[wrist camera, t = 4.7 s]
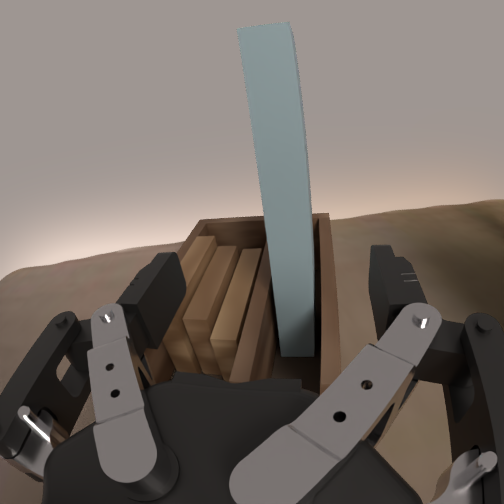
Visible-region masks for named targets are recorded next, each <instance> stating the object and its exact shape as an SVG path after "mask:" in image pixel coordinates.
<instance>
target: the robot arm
mask: <svg viewBox="0 0 504 504" xmlns="http://www.w3.org/2000/svg"><path fill="white" fill-rule="evenodd" d="M185 295H186V281H185V277H184V274H183V271H182V268H181V264H180V261H179V258H178V255H177V254H176V253H175V252H166V253H158V254H157V255H156V256H155V258H154V259H153V260H152V262H151V263H150V264H148V265H147V266H145V267H144V268H143V269H141V270H140V271H139V272H138V274H137V275H136V276H135V278H134V280H132V282H131V283H130V286H128V287H127V288H126V290H125V291H124V292H123V294H122V295H121V296H120V298H119V299H118V301H117V302H116V303H112V304H107V305H104V306H102V307H100V308H99V309H97V310H96V311H95V312H94V313H93V315H92V317H91V319H87V320H82V321H78V319H77V317H76V315H75V314H74V313H73V312H71V311H67V312H63V313H60V314H58V315H57V316H55V317H54V318H53V319H52V320H51V321H50V323H49V324H48V325H47V327H46V328H45V330H44V331H43V332H42V334H41V335H40V336H39V338H38V339H37V341H36V342H35V343H34V345H33V346H32V348H31V349H30V351H29V352H28V353H27V355H26V356H25V358H24V359H23V361H22V362H21V364H20V365H19V367H18V368H17V370H16V371H15V373H14V374H13V376H12V377H11V379H10V381H9V382H8V384H7V385H6V387H5V388H4V390H3V392H2V393H1V395H0V456H1V457H2V458H3V459H4V460H6V461H7V462H8V463H10V464H11V465H12V466H14V467H15V468H17V469H18V470H19V471H21V472H23V473H25V474H26V475H28V476H29V477H31V478H32V479H34V480H36V481H38V482H44V486H43V498H42V503H41V504H423V502H422V500H421V498H420V497H419V495H418V494H417V493H416V492H415V490H414V489H413V488H412V487H411V486H410V485H409V484H408V483H407V482H406V481H405V480H404V479H403V478H402V477H401V476H400V475H399V474H398V473H397V472H396V471H395V470H394V469H393V468H392V467H391V465H390V464H389V463H388V462H387V461H386V460H385V459H384V458H383V457H382V456H381V455H380V454H379V453H378V452H377V451H376V449H375V448H376V447H377V445H378V444H379V443H380V441H381V440H382V439H383V437H384V436H385V434H386V433H387V431H388V430H389V428H390V427H391V425H392V423H393V421H394V420H395V418H396V417H397V415H398V414H399V412H400V411H401V409H402V408H403V406H404V405H405V403H406V402H407V400H408V399H409V397H410V396H411V394H412V392H413V391H414V389H415V388H416V386H417V384H418V383H419V381H420V380H422V381H427V382H433V383H439V384H442V386H443V392H444V398H445V404H446V410H447V417H448V425H449V433H450V442H451V453H452V464H451V465H450V466H449V467H448V468H447V469H446V470H445V471H444V472H443V473H442V474H441V476H440V477H439V479H438V481H437V485H436V492H435V495H434V497H433V499H432V500H431V502H430V503H428V504H504V333H503V330H502V328H501V326H500V324H499V322H498V321H497V320H496V319H495V318H493V317H492V316H490V315H488V314H485V313H474V314H471V315H470V316H468V318H467V319H466V321H465V324H462V323H456V322H450V321H446V320H443V319H442V318H441V315H440V313H439V311H438V310H437V309H436V308H434V307H433V306H431V305H428V303H427V301H426V298H425V296H424V293H423V291H422V288H421V286H420V283H419V281H418V279H417V276H416V274H415V271H414V269H413V267H412V265H411V263H410V262H408V261H407V260H406V259H405V258H404V257H395V255H394V253H393V250H392V248H391V246H390V245H372V246H371V253H370V268H369V295H370V300H371V305H372V310H373V316H374V321H375V327H376V333H377V339H378V342H377V344H376V345H375V346H374V345H372V344H367V345H366V346H365V347H364V348H363V349H362V350H361V352H360V353H359V354H358V355H357V356H356V357H355V358H354V360H353V361H352V362H351V363H350V364H349V365H348V366H347V367H346V369H345V370H344V371H343V372H342V373H341V374H340V375H339V376H338V377H337V378H336V380H335V381H334V382H333V383H332V384H331V385H330V386H329V387H328V388H327V389H326V390H325V391H324V392H323V393H322V394H321V395H319V394H317V393H315V392H312V391H309V390H306V389H302V379H273V378H268V379H261V380H255V381H249V382H242V383H230V382H227V381H223V380H220V379H217V378H214V377H211V376H208V375H205V374H198V373H188V372H179V371H176V372H175V375H174V377H173V379H172V380H169V381H164V382H160V383H157V384H156V382H155V379H154V377H153V374H152V371H151V368H150V365H149V362H148V359H147V356H146V354H145V350H146V348H150V349H158V348H159V346H160V344H161V342H162V340H163V338H164V336H165V334H166V332H167V330H168V328H169V326H170V324H171V322H172V320H173V318H174V316H175V314H176V312H177V310H178V308H179V307H180V305H181V303H182V301H183V299H184V297H185ZM64 355H66V357H67V358H68V360H69V361H70V363H71V365H70V367H69V368H68V370H67V372H66V373H65V375H64V377H63V379H62V380H61V382H60V381H59V379H58V378H57V375H56V369H57V367H58V365H59V363H60V362H61V360H62V358H63V357H64ZM91 391H92V398H93V405H94V411H95V417H96V421H95V422H93V423H92V424H90V425H89V426H87V427H85V428H84V429H82V430H81V431H79V432H77V433H76V434H74V435H73V436H71V437H69V436H70V434H71V432H72V430H73V427H74V425H75V423H76V421H77V419H78V417H79V415H80V413H81V410H82V408H83V406H84V404H85V402H86V400H87V398H88V396H89V394H90V392H91Z"/></svg>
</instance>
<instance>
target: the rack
mask: <svg viewBox="0 0 504 504" xmlns="http://www.w3.org/2000/svg"><path fill="white" fill-rule="evenodd" d="M312 224H313V244H314V269H321V369H320V395H321V394H322V393H323V392H324V391H325V390H326V389H327V388H328V387H329V386H330V385H331V384H332V383H333V382H334V381H335V380H336V378H337V377H338V376H339V375H340V374H341V358H340V335H339V317H338V302H337V288H336V276H335V265H334V254H333V245H332V235H331V227H330V218H329V213H317V214H312ZM198 236H215V239H216V243H217V248H218V246H237V250H238V255H239V258H240V256H241V253H242V250H243V249H257V248H262V255H263V256H262V260H261V263H260V267H259V271H258V275H257V279H256V282H255V286H254V290H253V294H252V298H251V301H250V305H249V309H248V313H247V316H246V320H245V324H244V328H243V331H242V335H241V339H240V343H239V346H238V350H237V354H236V357H235V361H234V365H233V368H232V372H231V376H230V379H229V382H230V383H242V382H249V381H255V380H261V379H268V378H271V377H272V371H273V364H274V358H275V352H276V345H277V339H278V324H277V315H276V307H275V299H274V291H273V283H272V275H271V267H270V259H269V251H268V243H267V235H266V228H265V220H264V216H254V217H236V218H219V219H204V220H199V222H198V224H197V225H196V226H195V228H194V229H193V230H192V232H191V233H190V235H189V236H188V238H187V239H186V241H185V242H184V243H183V245H182V246H181V248H180V249H179V251H178V252H177V255H178V258H179V261H180V263H181V261H182V259H183V258H184V256H185V255H186V253H187V251H188V250H189V248H190V247H191V245H192V244H193V242H194V240H195V239H196V237H198ZM145 354H146V356H147V359H148V362H149V365H150V368H151V371H152V374H153V377H154V379H155V382H156V384H157V383H160V382H164V381H169V380H170V378H171V376H172V374H173V371H174V369H175V366H174V364H173V361H172V359H171V357H170V355H169V353H168V351H167V349H166V347H165V344H164V342H163V340H162V342H161V344H160V346H159V348H158V349H150V348H146V350H145Z"/></svg>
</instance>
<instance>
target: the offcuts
mask: <svg viewBox="0 0 504 504" xmlns="http://www.w3.org/2000/svg"><path fill="white" fill-rule="evenodd" d="M262 256H263V255H262V248H257V249H243V250H242V253H241V256H240V258H239V255H238V250H237V246H218V248H217V243H216V239H215V236H198V237H196V239H195V240H194V242H193V244H192V245H191V247H190V248H189V250H188V251H187V253H186V255H185V256H184V258H183V259H182V261H181V263H180V264H181V268H182V271H183V274H184V277H185V281H186V295H185V297H184V299H183V301H182V303H181V305H180V307H179V308H178V310H177V312H176V314H175V316H174V318H173V320H172V322H171V324H170V326H169V328H168V330H167V332H166V334H165V336H164V338H163V342H164V344H165V347H166V349H167V351H168V353H169V355H170V357H171V359H172V361H173V364H174V366H175V368H176V370H177V371H179V372H188V373H198V374H201V371H203V373H204V374H213V375H222V376H223V379H224V381H227V382H229V379H230V376H231V372H232V368H233V365H234V361H235V357H236V354H237V350H238V346H239V343H240V339H241V335H242V331H243V328H244V324H245V320H246V316H247V313H248V309H249V305H250V301H251V298H252V294H253V290H254V286H255V282H256V279H257V275H258V271H259V267H260V263H261V260H262Z"/></svg>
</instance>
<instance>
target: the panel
mask: <svg viewBox="0 0 504 504" xmlns="http://www.w3.org/2000/svg"><path fill="white" fill-rule="evenodd" d="M237 33H238V39H239V46H240V52H241V58H242V65H243V71H244V78H245V84H246V91H247V97H248V104H249V111H250V118H251V125H252V132H253V140H254V147H255V154H256V161H257V168H258V175H259V183H260V190H261V197H262V205H263V212H264V220H265V228H266V235H267V243H268V251H269V259H270V267H271V275H272V283H273V291H274V299H275V307H276V315H277V324H278V332H279V341H280V350H281V357H314V349H315V270H314V244H313V224H312V207H311V191H310V179H309V165H308V153H307V143H306V132H305V122H304V113H303V104H302V95H301V87H300V78H299V70H298V63H297V56H296V49H295V42H294V36H293V32H292V30H291V26H290V23H289V22H284V23H275V24H267V25H258V26H251V27H245V28H239V29H237Z"/></svg>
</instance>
